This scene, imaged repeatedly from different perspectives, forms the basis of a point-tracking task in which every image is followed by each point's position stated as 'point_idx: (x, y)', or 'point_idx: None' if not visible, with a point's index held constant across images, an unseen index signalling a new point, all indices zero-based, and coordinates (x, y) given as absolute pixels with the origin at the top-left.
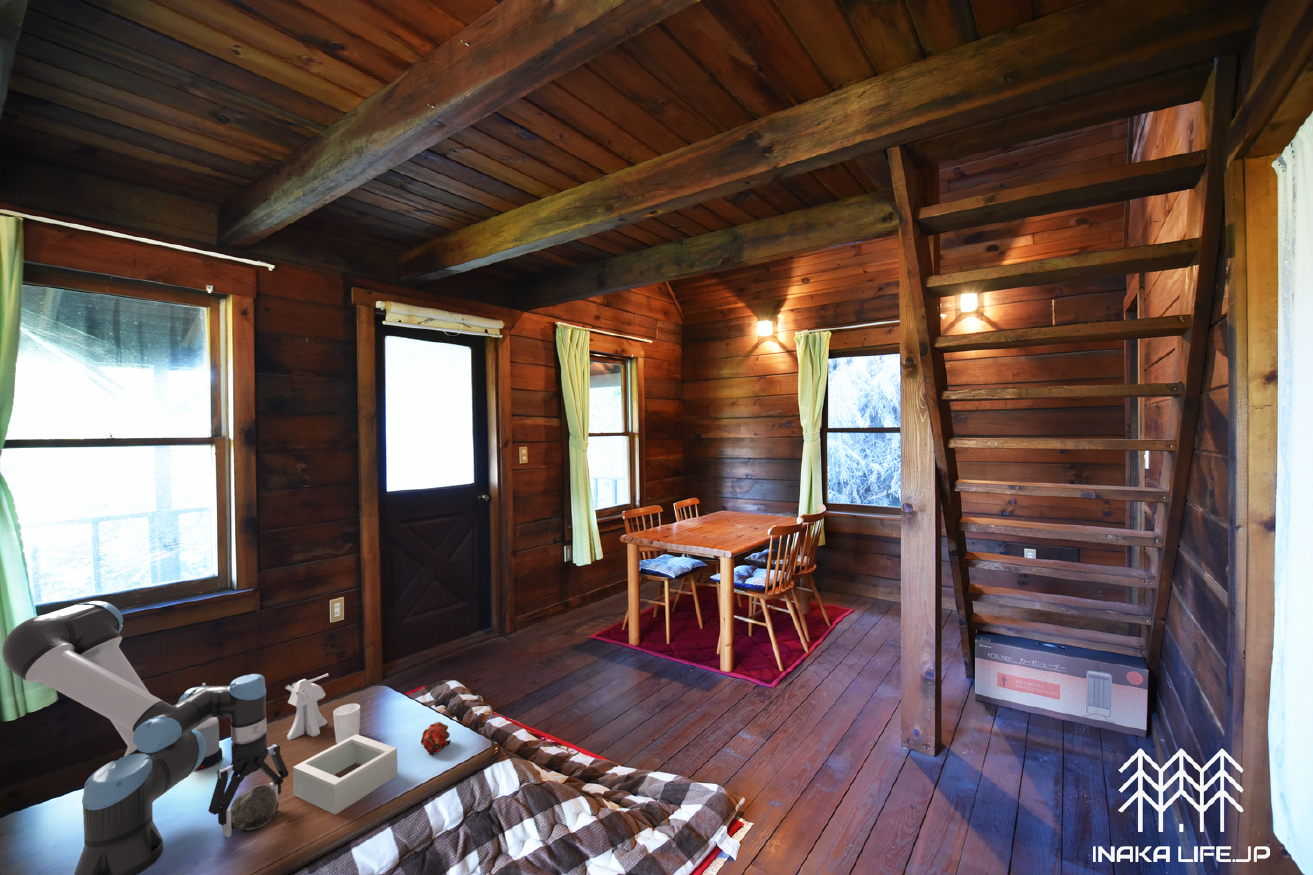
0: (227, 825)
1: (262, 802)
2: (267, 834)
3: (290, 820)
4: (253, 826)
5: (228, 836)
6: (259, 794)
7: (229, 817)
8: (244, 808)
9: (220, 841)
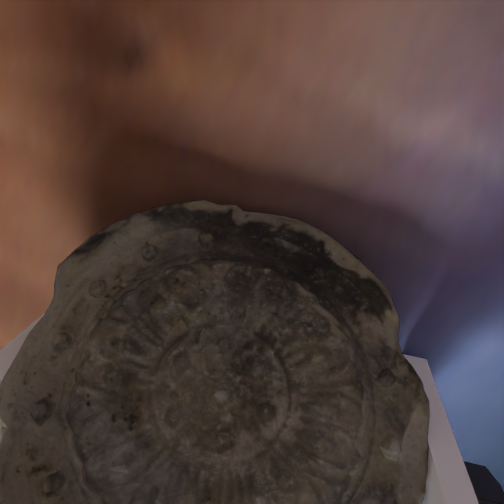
0: (448, 430)
1: (146, 377)
2: (314, 87)
3: (119, 57)
4: (317, 255)
5: (424, 361)
6: (111, 477)
7: (453, 481)
8: (297, 454)
9: (456, 378)
